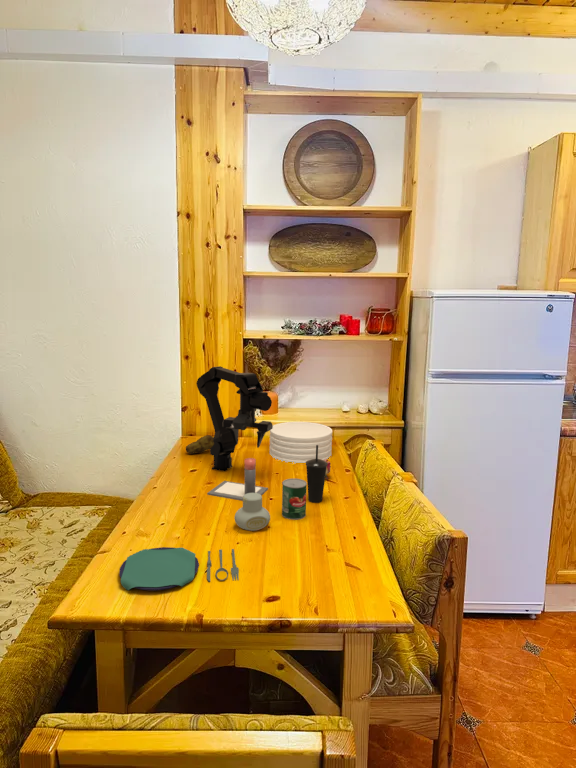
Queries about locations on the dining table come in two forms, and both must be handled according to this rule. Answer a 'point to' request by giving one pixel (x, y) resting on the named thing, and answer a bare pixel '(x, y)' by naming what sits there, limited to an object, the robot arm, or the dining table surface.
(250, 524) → the air freshener
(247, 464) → the marker
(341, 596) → the dining table surface
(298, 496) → the canned tomato
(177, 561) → the cutlery set
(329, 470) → the flower
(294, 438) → the plate stack
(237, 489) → the writing mat
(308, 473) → the drinking cup
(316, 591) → the dining table surface
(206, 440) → the potato
